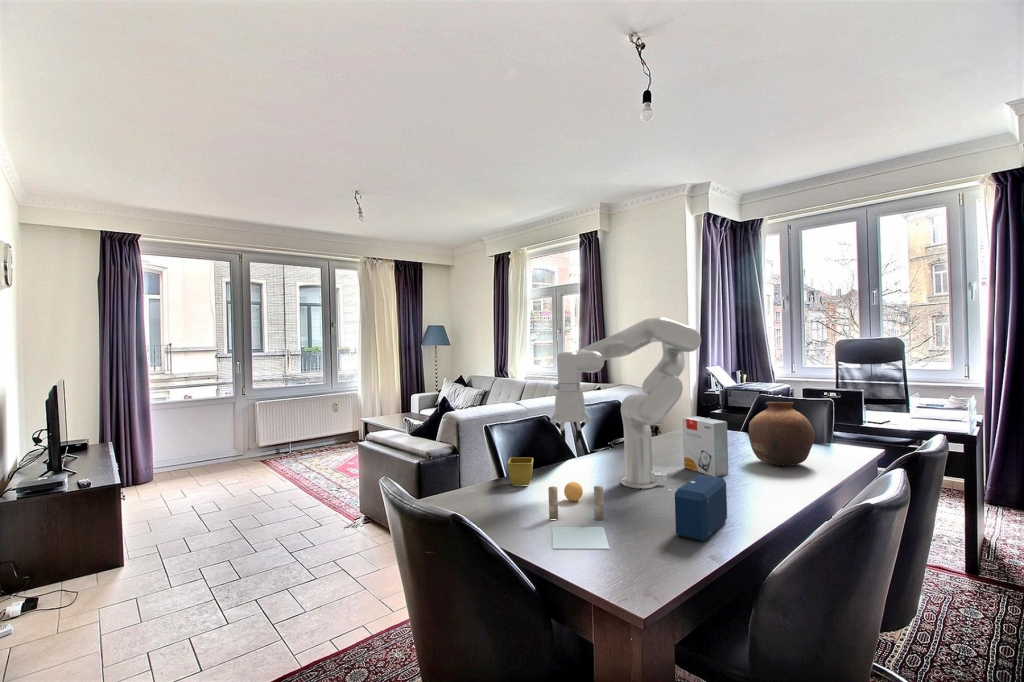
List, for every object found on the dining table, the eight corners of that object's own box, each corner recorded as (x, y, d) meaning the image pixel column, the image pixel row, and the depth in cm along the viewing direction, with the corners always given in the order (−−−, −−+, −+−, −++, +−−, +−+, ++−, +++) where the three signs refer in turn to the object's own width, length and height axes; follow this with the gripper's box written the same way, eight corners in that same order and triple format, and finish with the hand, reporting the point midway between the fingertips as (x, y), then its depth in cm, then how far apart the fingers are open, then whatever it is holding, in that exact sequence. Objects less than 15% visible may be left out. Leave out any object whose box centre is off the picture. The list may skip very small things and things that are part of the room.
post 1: (558, 517, 144) (557, 486, 144) (558, 520, 142) (557, 489, 142) (549, 517, 145) (548, 486, 145) (549, 520, 142) (548, 489, 142)
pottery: (781, 474, 181) (779, 406, 181) (736, 460, 203) (734, 400, 203) (830, 468, 187) (827, 402, 187) (781, 455, 209) (779, 396, 209)
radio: (698, 514, 144) (696, 445, 144) (729, 520, 138) (727, 448, 138) (670, 537, 127) (668, 460, 127) (705, 545, 122) (702, 464, 122)
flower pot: (534, 481, 182) (533, 457, 182) (532, 488, 173) (532, 463, 173) (510, 481, 183) (509, 457, 183) (508, 488, 174) (507, 463, 174)
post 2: (603, 516, 143) (602, 486, 143) (604, 520, 141) (603, 488, 141) (594, 516, 144) (593, 486, 144) (595, 520, 141) (594, 488, 141)
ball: (582, 497, 161) (581, 479, 161) (583, 503, 155) (583, 484, 155) (564, 497, 162) (563, 479, 162) (564, 503, 156) (564, 484, 156)
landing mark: (603, 527, 135) (603, 527, 135) (609, 549, 121) (609, 548, 121) (552, 527, 136) (552, 527, 136) (552, 549, 122) (552, 548, 122)
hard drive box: (683, 468, 194) (681, 417, 194) (697, 465, 197) (696, 415, 197) (714, 477, 180) (712, 423, 180) (729, 474, 183) (728, 421, 183)
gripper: (544, 389, 165) (546, 444, 165) (594, 388, 164) (596, 443, 164) (544, 387, 173) (546, 439, 172) (592, 386, 171) (594, 439, 171)
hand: (570, 441), depth 168 cm, fingers open, 3 cm apart
